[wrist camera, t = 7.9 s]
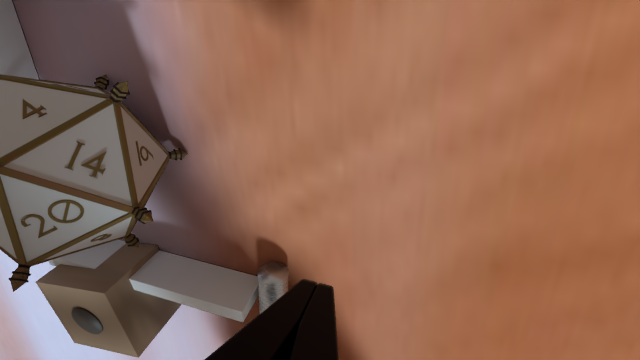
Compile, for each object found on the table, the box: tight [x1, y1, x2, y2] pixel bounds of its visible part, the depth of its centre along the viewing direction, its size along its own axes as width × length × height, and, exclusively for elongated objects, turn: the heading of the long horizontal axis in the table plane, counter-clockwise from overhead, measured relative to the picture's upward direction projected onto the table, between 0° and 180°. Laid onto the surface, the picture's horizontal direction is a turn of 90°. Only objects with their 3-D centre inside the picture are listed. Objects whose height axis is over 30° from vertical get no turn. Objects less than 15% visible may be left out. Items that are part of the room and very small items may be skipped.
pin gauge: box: [258, 262, 288, 314], centre depth 20 cm, size 8×2×2 cm, turn 177°
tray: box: [0, 0, 259, 322], centre depth 16 cm, size 17×13×2 cm
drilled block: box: [36, 243, 181, 358], centre depth 21 cm, size 5×5×4 cm
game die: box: [0, 74, 188, 292], centre depth 14 cm, size 9×8×10 cm
